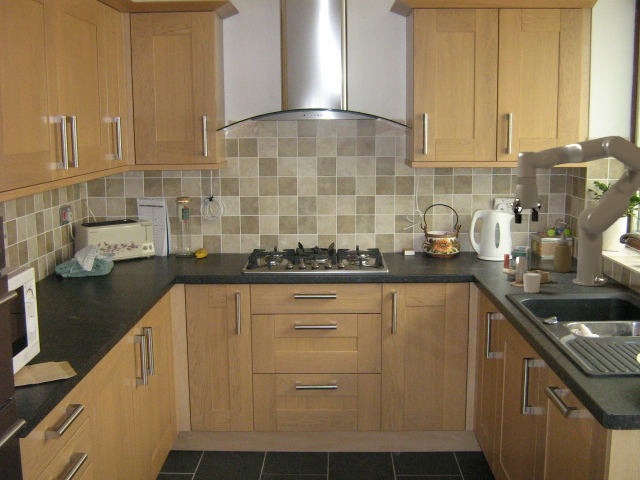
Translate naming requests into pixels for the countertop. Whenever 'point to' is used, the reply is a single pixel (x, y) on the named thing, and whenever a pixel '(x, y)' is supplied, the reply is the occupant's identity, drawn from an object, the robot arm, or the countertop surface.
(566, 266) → the squeeze bottle
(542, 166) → the robot arm
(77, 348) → the countertop surface
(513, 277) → the wheel post
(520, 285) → the coaster
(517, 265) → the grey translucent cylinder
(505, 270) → the crank wheel
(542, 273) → the block
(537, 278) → the white cup
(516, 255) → the light bulb box
